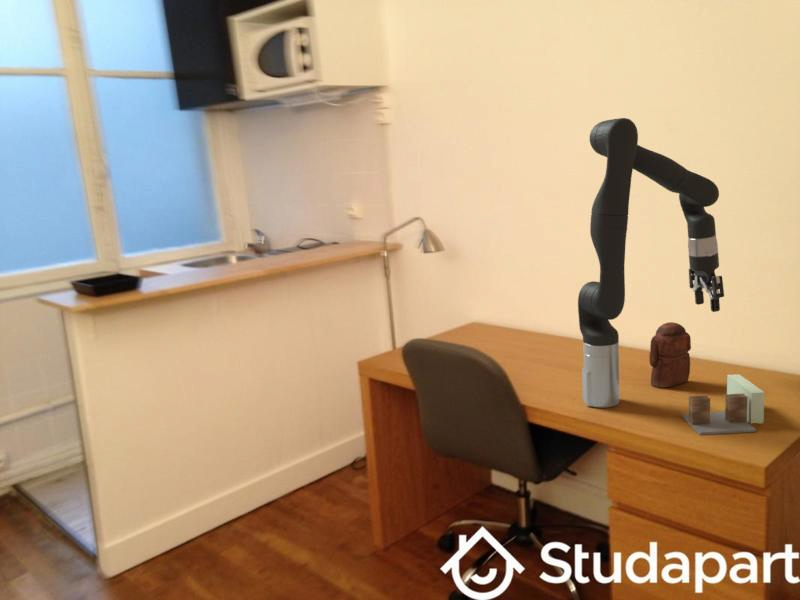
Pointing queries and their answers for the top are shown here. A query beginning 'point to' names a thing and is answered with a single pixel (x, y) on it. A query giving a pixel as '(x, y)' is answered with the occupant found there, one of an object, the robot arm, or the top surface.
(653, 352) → the wooden figurine
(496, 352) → the top surface
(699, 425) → the charcoal base board
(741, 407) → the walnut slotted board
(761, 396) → the pale green upright slab
